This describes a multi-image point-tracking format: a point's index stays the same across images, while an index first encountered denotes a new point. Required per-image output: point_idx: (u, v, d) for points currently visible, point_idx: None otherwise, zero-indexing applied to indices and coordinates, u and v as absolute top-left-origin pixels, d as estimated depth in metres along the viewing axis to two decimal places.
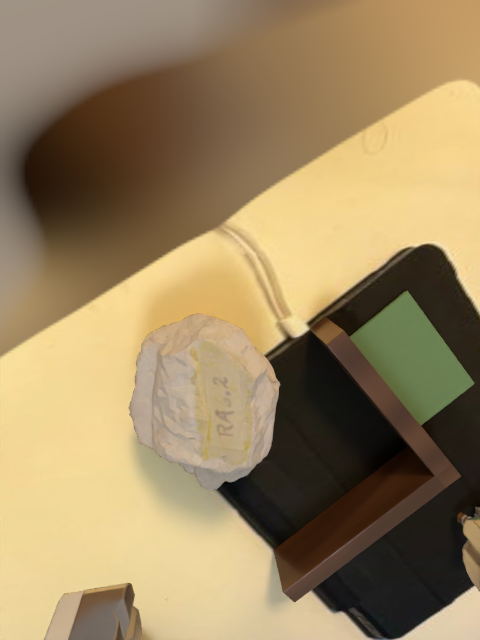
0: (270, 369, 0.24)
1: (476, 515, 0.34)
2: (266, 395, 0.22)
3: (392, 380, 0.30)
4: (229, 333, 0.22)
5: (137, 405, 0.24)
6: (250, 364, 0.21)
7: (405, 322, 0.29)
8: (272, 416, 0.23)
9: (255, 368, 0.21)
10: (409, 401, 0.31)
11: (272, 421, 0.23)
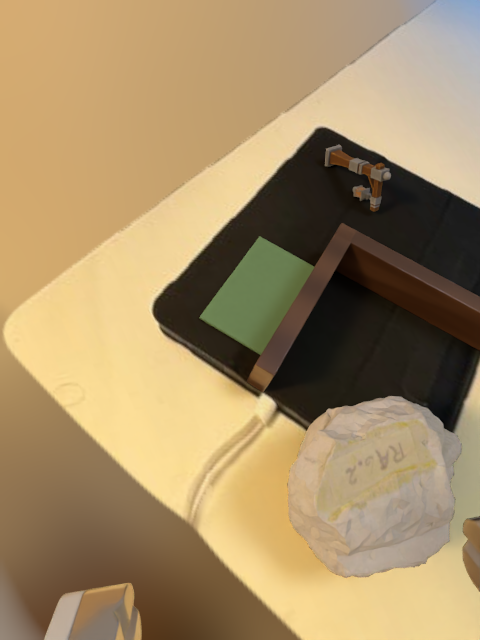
0: (317, 422, 0.24)
1: (367, 198, 0.38)
2: (345, 421, 0.22)
3: (282, 302, 0.33)
4: (299, 482, 0.20)
5: (412, 557, 0.22)
6: (322, 449, 0.21)
7: (227, 309, 0.32)
8: (362, 407, 0.23)
9: (324, 443, 0.21)
10: (295, 281, 0.34)
11: (367, 405, 0.23)
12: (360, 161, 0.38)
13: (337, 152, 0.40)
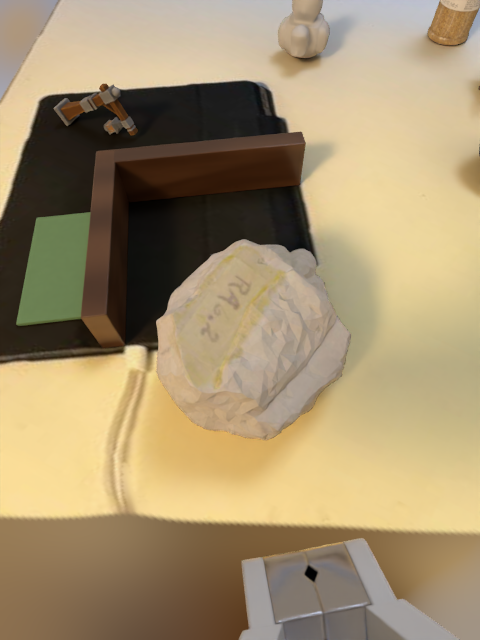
0: None
1: (120, 126, 0.36)
2: (179, 295, 0.19)
3: None
4: (169, 378, 0.17)
5: (326, 370, 0.20)
6: (168, 332, 0.18)
7: (42, 298, 0.27)
8: (192, 274, 0.20)
9: (166, 325, 0.18)
10: None
11: (196, 271, 0.21)
12: (88, 97, 0.35)
13: (66, 105, 0.37)
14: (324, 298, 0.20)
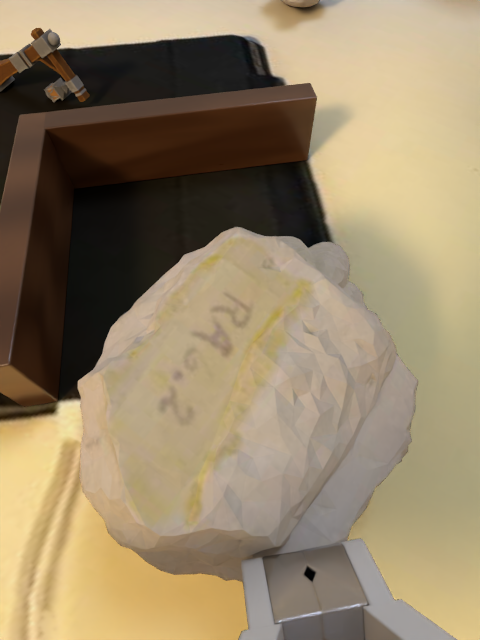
0: None
1: (65, 90, 0.27)
2: (124, 329, 0.11)
3: None
4: (100, 498, 0.09)
5: (386, 450, 0.11)
6: (97, 406, 0.09)
7: None
8: (150, 290, 0.12)
9: (94, 392, 0.09)
10: None
11: (158, 283, 0.12)
12: (20, 50, 0.26)
13: None
14: (379, 326, 0.11)
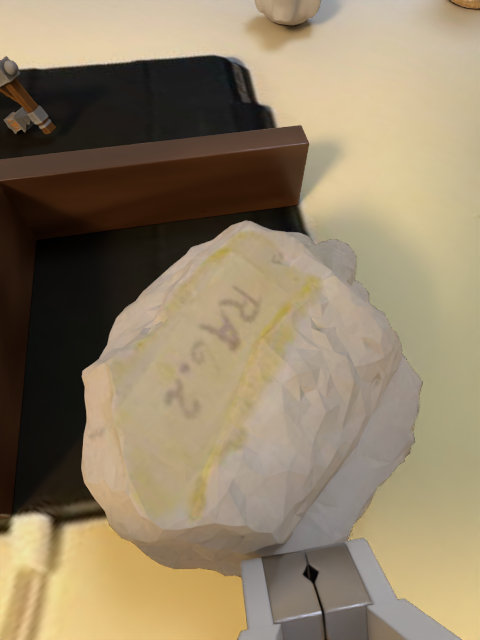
0: None
1: (27, 121, 0.24)
2: (130, 320, 0.10)
3: None
4: (102, 490, 0.09)
5: (389, 450, 0.11)
6: (101, 396, 0.09)
7: None
8: (157, 281, 0.12)
9: (99, 382, 0.09)
10: None
11: (164, 274, 0.12)
12: None
13: None
14: (386, 325, 0.11)
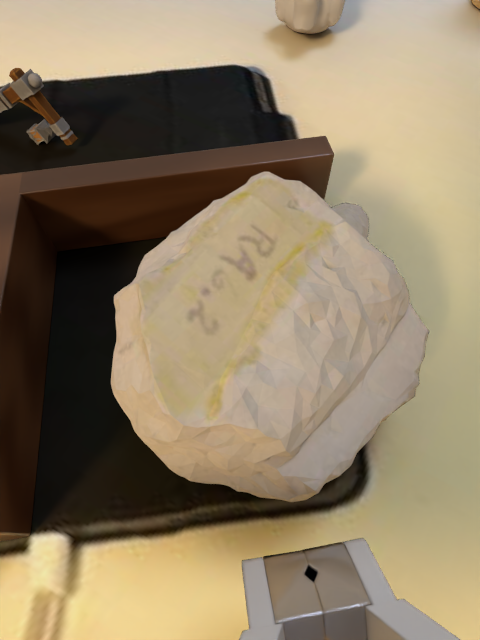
0: None
1: (50, 133, 0.24)
2: (157, 255, 0.12)
3: None
4: (129, 396, 0.10)
5: (394, 388, 0.12)
6: (131, 314, 0.10)
7: None
8: (181, 227, 0.13)
9: (129, 302, 0.10)
10: None
11: (188, 222, 0.13)
12: None
13: None
14: (394, 270, 0.12)
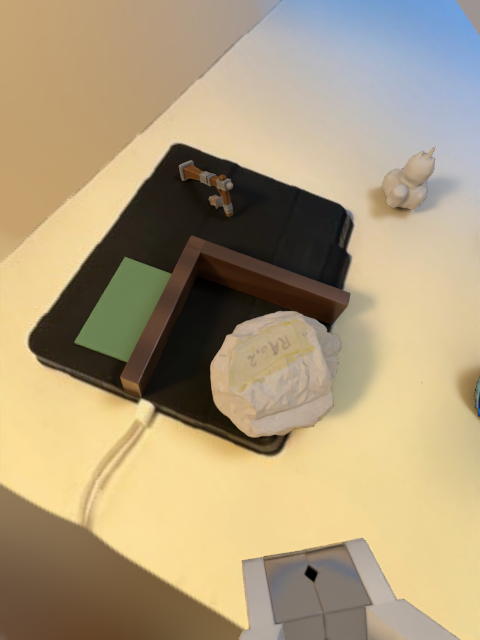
0: None
1: (221, 205, 0.43)
2: (247, 327, 0.30)
3: None
4: (216, 371, 0.28)
5: (305, 418, 0.30)
6: (230, 346, 0.28)
7: (100, 330, 0.35)
8: (261, 317, 0.31)
9: (231, 341, 0.28)
10: (161, 292, 0.37)
11: (264, 316, 0.31)
12: (208, 174, 0.42)
13: (189, 167, 0.44)
14: (329, 376, 0.30)
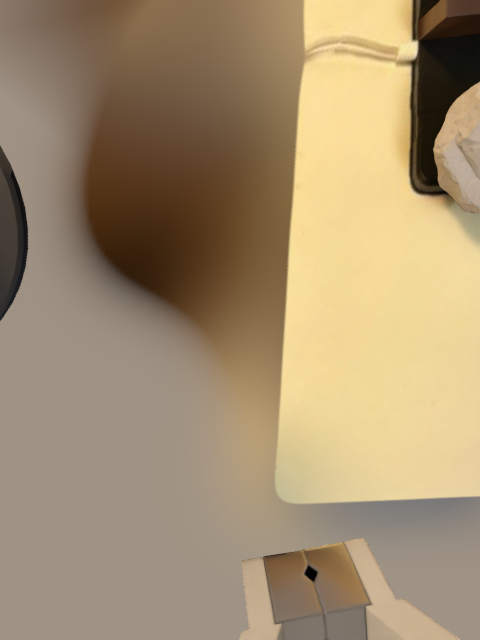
0: None
1: None
2: None
3: None
4: None
5: (469, 190, 0.33)
6: None
7: None
8: None
9: None
10: None
11: None
12: None
13: None
14: None
